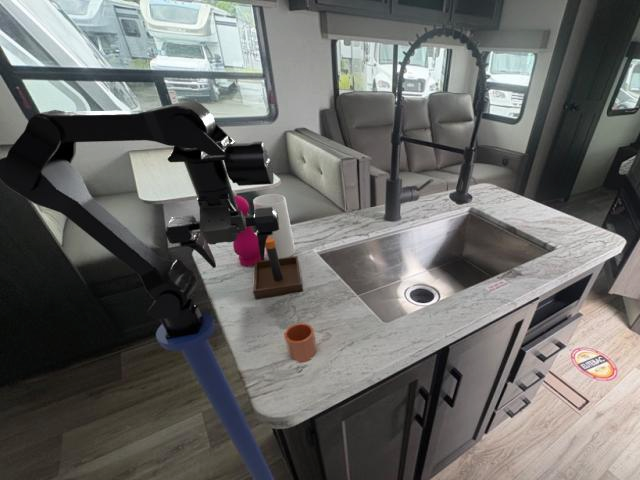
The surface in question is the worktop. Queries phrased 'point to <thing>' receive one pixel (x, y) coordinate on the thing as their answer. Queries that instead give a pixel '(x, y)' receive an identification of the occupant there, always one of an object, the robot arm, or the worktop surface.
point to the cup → (284, 233)
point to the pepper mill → (246, 238)
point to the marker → (273, 259)
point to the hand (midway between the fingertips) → (239, 263)
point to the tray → (270, 287)
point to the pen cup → (301, 342)
